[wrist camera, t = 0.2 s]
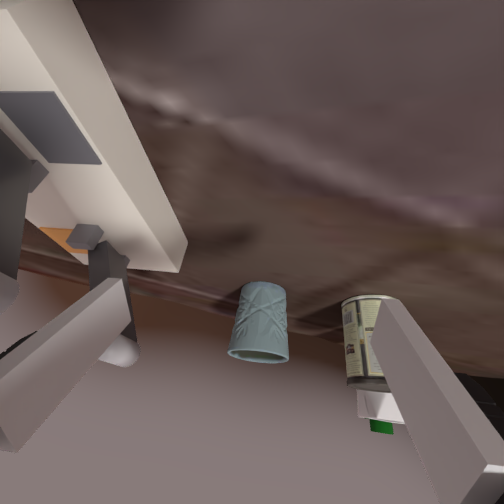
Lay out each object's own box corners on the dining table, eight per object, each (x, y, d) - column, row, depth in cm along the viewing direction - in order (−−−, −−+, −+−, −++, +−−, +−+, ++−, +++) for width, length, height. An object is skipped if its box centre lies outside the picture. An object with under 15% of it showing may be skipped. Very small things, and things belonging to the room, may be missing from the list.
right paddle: (85, 247, 26) (91, 364, 20) (108, 239, 27) (121, 352, 20) (106, 265, 30) (116, 371, 23) (126, 258, 30) (142, 360, 24)
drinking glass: (228, 288, 48) (216, 352, 42) (262, 273, 41) (254, 348, 35) (266, 304, 53) (260, 364, 47) (302, 294, 46) (301, 362, 40)
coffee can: (394, 315, 49) (410, 396, 42) (340, 313, 52) (345, 388, 45) (407, 294, 41) (429, 390, 34) (342, 293, 44) (348, 381, 36)
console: (-138, -6, 16) (-287, 36, 12) (63, -18, 14) (-32, 27, 10) (98, 236, 38) (73, 279, 34) (188, 242, 36) (173, 288, 32)
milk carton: (346, 329, 61) (354, 428, 50) (363, 318, 53) (377, 432, 42) (381, 334, 61) (397, 434, 50) (403, 324, 53) (427, 440, 42)
